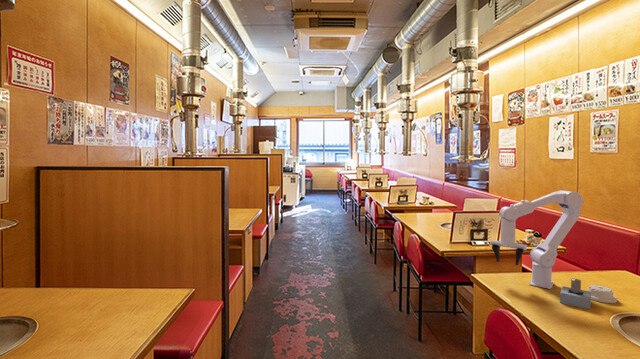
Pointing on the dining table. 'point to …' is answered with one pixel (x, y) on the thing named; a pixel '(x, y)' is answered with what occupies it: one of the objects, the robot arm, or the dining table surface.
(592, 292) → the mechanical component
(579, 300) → the block
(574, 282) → the steel pin
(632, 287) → the dining table surface
